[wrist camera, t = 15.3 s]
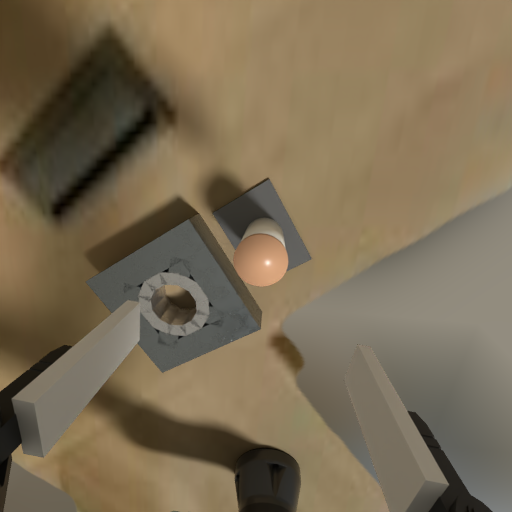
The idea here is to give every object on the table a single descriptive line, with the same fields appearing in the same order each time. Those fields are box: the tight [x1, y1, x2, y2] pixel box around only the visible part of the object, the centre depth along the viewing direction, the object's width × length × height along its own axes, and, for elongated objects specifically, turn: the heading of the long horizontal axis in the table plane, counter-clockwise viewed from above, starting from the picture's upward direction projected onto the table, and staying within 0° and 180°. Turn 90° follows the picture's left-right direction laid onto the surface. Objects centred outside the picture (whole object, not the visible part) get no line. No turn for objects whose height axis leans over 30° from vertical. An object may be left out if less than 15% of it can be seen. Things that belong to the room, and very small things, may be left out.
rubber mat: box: [213, 179, 312, 271], centre depth 37 cm, size 14×10×1 cm
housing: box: [86, 214, 262, 373], centre depth 40 cm, size 20×20×5 cm
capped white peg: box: [233, 218, 288, 286], centre depth 32 cm, size 6×6×11 cm
